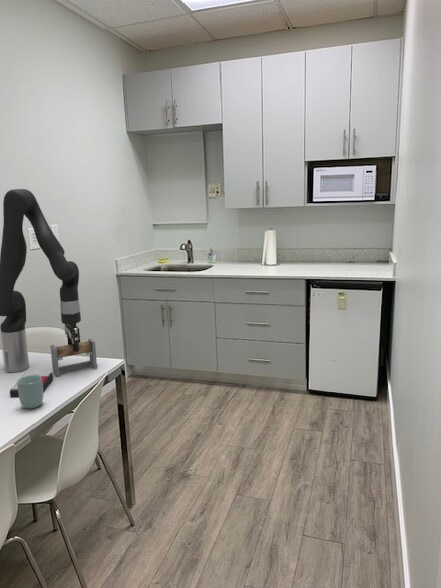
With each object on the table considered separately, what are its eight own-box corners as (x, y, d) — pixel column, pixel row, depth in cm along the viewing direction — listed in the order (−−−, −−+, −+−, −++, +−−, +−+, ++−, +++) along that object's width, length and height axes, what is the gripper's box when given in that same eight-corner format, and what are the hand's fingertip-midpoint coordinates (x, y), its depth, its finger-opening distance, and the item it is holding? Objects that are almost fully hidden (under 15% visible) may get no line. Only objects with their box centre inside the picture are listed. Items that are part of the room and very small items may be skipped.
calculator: (8, 389, 158) (24, 370, 173) (10, 399, 159) (25, 380, 174) (39, 388, 159) (52, 370, 173) (41, 398, 160) (53, 380, 175)
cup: (48, 401, 156) (46, 375, 154) (37, 411, 148) (34, 384, 146) (27, 400, 157) (24, 374, 154) (15, 410, 149) (12, 383, 147)
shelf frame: (56, 377, 176) (53, 349, 174) (53, 372, 181) (50, 345, 179) (97, 368, 185) (95, 341, 183) (92, 364, 190) (90, 338, 187)
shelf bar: (58, 358, 176) (57, 349, 176) (55, 355, 180) (55, 347, 179) (91, 351, 184) (90, 343, 183) (88, 349, 187) (87, 341, 186)
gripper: (56, 308, 181) (60, 345, 185) (65, 316, 170) (68, 355, 173) (75, 306, 185) (78, 342, 189) (84, 313, 174) (87, 352, 177)
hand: (73, 348), depth 181 cm, fingers open, 8 cm apart
